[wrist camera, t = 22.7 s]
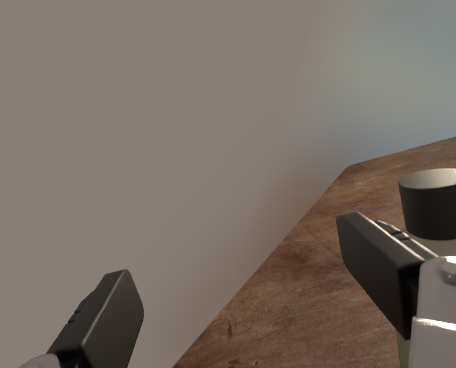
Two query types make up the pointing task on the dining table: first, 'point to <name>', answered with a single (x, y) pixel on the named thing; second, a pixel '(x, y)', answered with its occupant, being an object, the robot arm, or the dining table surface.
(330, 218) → the dining table surface
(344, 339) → the dining table surface
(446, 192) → the marker
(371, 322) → the dining table surface
